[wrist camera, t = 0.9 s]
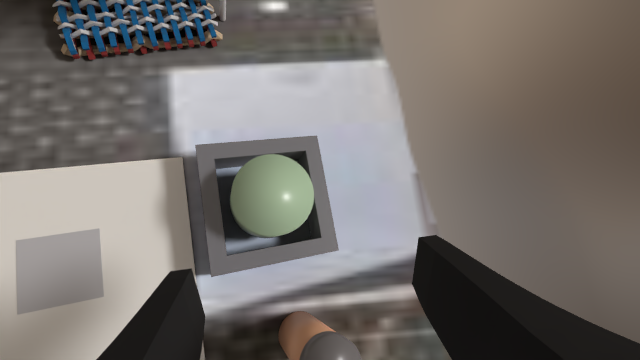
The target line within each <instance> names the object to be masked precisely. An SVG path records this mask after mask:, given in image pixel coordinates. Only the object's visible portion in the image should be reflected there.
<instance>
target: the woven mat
mask: <svg viewBox="0 0 640 360" xmlns="http://www.w3.org/2000/svg"><path fill="white" fill-rule="evenodd" d="M56 1H57V2H56V3H54V4H53V6H52V7H55V6H58V11H57V12H56V14H55V15H54V20H53V21H54V22H55V23H57V24H58V25H60V26H58V29H61V28H63V29H62V30H63V34H59V36H60V38H65V40H66V43H67V44H63V46H62V49H61V51H62V53H63V54H65V55H68V56H72V57H73V58H74V59H78V58H80V56H86V55H88V58H89V60H91V59H96V58H95V55H96V54H102V56H103V57H106V56H108V54H107V53H115V55H117V54H121V52H127V51H128V52H129V53H134V51H136V50H138V49H139V48H141V52H142V54H146V53H147V49H146V47H147V48H150V49H154V50H159V48H166V50H171V47H176V46H177V47H178V48H183V46H186V45H189V47H194V45H196V44H200V45H201V46H205V45H206V43H207V42H209V41H210V43H211V45H212V46H213V47H215V46H217V43H216V41H220V40H222V34H221V33H219V32H218V31H216V30H215V29H214V27H213V26H214V25H216V26H218V22H216V21H213V20H211V19H213V18H215V17H217V16H216V14H215V13H214V14H212V13H213V12H214V9H213V6H211V5H210V4H209V3H208V4H206V0H99V1H94V0H82V1H81V2H80V0H70V2H66V0H56ZM186 2H187V4H188V5H186V4H184V3H186ZM195 3H200V6H198V7H196V6H195ZM171 5H172V6H171ZM123 6H125V8H124V9H123ZM113 7H115V11H116V12H110V10H109V9H112V8H113ZM177 8H178V10H175V9H177ZM184 8H186V9H184ZM96 9H101V10H102V12H103V13H97V12H96ZM160 9H161V10H165V11H161V10H160ZM72 10H73V11H74V12H71V11H72ZM82 10H87V12H88V14H87V15H84V14H83V11H82ZM128 11H129V12H130V13H127V12H128ZM211 14H212V15H211ZM199 18H200V19H203V20H205V21H200V19H199ZM168 21H170V23H168V24H165V23H166V22H168ZM152 22H153V23H157V24H156V25H152ZM73 23H74V24H76V25H74V24H73ZM143 23H146V25H143V26H140V25H141V24H143ZM127 25H131V26H130V27H127ZM90 27H92V30H87V29H88V28H90ZM190 28H191V29H193V30H195V29H196V31H197V35H198V36H193V35H192V33H191V30H190ZM204 28H207V31H206V32H204V33H203V29H204ZM74 29H76V30H77V31H75V32H74ZM182 29H184V32H185V34H186V37H181V36H180V33H179V31H180V30H182ZM167 32H173V33H174V37H175V38H170V39H169V37H168V34H167ZM155 33H161V34H162V37H163V39H160V40H156V36H155ZM117 34H118V35H121V36H123V38H124V42H125V43H118V38H117ZM143 34H149V36H150V38H149V37H146V36H143ZM108 35H109V40H110V44H107V45H105V42H104V37H107V36H108ZM130 35H136V36H135V37H134V38H132V39H130ZM76 38H81V45H82V47H77V43H76ZM90 38H95V41H96V43H97V45H96V46H92V45H91V42H90Z"/></svg>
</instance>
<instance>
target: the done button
mask: <svg viewBox="0 0 640 360" xmlns="http://www.w3.org/2000/svg"><path fill="white" fill-rule="evenodd" d="M313 202H314V189H313V185H312V182H311V179H310V177H309V175H308V174H307V172H306V171H305V170H304V168H303V167H302V166H301V165H299V164H298V163H297V162H296V161H294V160H292V159H290V158H288V157H285V156H282V155H277V154H267V155H262V156H258V157H256V158H253V159H252V160H250V161H248V162H247V163H246V164H245V165H244V166H243V167H242V168H241V169H240V170H239V171H238V173H237V175H236V177H235V179H234V181H233V185H232V190H231V196H230V209H231V213H232V216H233V218H234V220H235V221H236V223H237V224H238V225H239V226H240V227H241V228H242V229H243V230H244V231H245V232H247V233H249V234H251V235H253V236H256V237H260V238H273V237H277V236H280V235H284V234H287V233H290V232H292V231H294V230H296V229H297V228H298V227H300V226H301V225H302V224H303V223H304V222H305V220H306V219H307V218H308V216H309V214H310V212H311V210H312V207H313Z"/></svg>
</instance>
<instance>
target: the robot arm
mask: <svg viewBox="0 0 640 360" xmlns="http://www.w3.org/2000/svg"><path fill="white" fill-rule="evenodd" d="M412 285H413V287H414V289H415V292H416V294H417V297H418V299H419V301H420V303H421V306H422V308H423V310H424V312H425V314H426V316H427V318H428V319H429V321H430V323H431V325H432V326H433V328H434V330H435V331H436V333H437V335H438V337H439V338H440V340H441V342H442V343H443V345H444V347H445V348H446V350H447V352H448V353H449V355H450V357H451V359H452V360H640V344H639V343H637V342H634V341H632V340H630V339H627V338H625V337H623V336H620V335H618V334H615V333H613V332H611V331H608V330H606V329H604V328H602V327H599V326H597V325H595V324H593V323H591V322H588V321H586V320H584V319H582V318H580V317H578V316H576V315H574V314H572V313H570V312H568V311H566V310H564V309H561V308H559V307H557V306H555V305H553V304H552V303H549V302H548V301H546V300H544V299H542V298H540V297H538V296H536V295H535V294H533V293H531V292H529V291H527V290H526V289H524V288H522V287H520V286H518V285H517V284H515V283H513V282H512V281H510V280H508V279H506V278H505V277H503V276H501V275H500V274H498V273H496V272H495V271H493V270H491V269H489V268H488V267H487V266H485V265H483V264H482V263H480V262H479V261H477V260H475V259H474V258H472V257H471V256H469V255H467V254H466V253H464V252H463V251H461V250H460V249H458V248H456V247H455V246H453V245H452V244H450V243H448V242H447V241H445V240H444V239H442V238H440V237H438V236H437V235H433V236H426V237H419V239H418V246H417V253H416V260H415V267H414V274H413V281H412ZM204 323H205V314H204V311H203V307H202V303H201V300H200V296H199V293H198V289H197V285H196V282H195V278H194V275H193V271H192V268H190V269H183V270H176V271H170V272H169V273H168V274H167V276H166V277H165V278H164V279H163V281H162V282H161V283H160V284H159V286H158V287H157V288H156V289H155V291H154V292H153V293H152V294H151V296H150V297H149V298H148V299H147V301H146V302H145V303H144V304H143V306H142V307H141V308H140V309H139V311H138V312H137V313H136V314H135V315H134V317H133V318H132V319H131V320H130V321H129V323H128V324H127V325H126V326H125V327H124V329H123V330H122V331H121V332H120V333H119V335H118V336H117V337H116V338H115V339H114V340H113V342H112V343H111V344H110V345H109V346H108V347H107V348H106V349H105V350H104V352H103V353H102V354H101V355H100V356H99V357H98V358H97V359H96V360H200V356H201V351H202V343H203V334H204Z"/></svg>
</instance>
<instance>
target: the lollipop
mask: <svg viewBox="0 0 640 360" xmlns="http://www.w3.org/2000/svg"><path fill="white" fill-rule="evenodd" d="M219 9H220V20H221V21H225V20H226V0H219Z"/></svg>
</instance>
